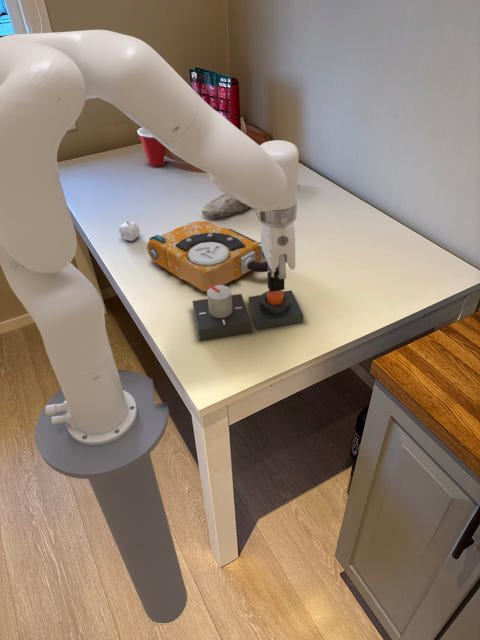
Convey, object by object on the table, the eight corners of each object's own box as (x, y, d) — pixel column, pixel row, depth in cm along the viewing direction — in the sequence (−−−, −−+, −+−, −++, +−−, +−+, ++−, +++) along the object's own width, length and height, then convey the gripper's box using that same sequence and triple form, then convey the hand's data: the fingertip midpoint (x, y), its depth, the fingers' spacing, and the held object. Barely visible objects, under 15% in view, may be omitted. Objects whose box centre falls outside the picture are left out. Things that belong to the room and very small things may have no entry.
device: (208, 203, 131) (292, 241, 114) (211, 230, 136) (291, 270, 119) (140, 234, 119) (222, 282, 102) (145, 262, 125) (224, 312, 108)
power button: (269, 306, 103) (269, 300, 102) (265, 296, 106) (265, 290, 105) (285, 304, 104) (285, 297, 102) (281, 294, 106) (281, 288, 105)
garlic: (122, 233, 137) (118, 216, 133) (141, 231, 137) (138, 215, 134) (120, 244, 132) (116, 227, 129) (140, 242, 132) (136, 225, 129)
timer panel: (199, 340, 101) (198, 329, 99) (193, 311, 109) (192, 300, 107) (251, 332, 102) (250, 321, 100) (241, 304, 110) (241, 292, 108)
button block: (257, 329, 103) (257, 315, 100) (248, 304, 110) (248, 290, 107) (302, 322, 104) (303, 308, 102) (291, 297, 111) (291, 283, 108)
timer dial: (237, 310, 103) (236, 290, 100) (219, 321, 101) (217, 301, 97) (221, 300, 106) (220, 280, 103) (204, 310, 104) (202, 290, 100)
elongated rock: (303, 193, 155) (282, 185, 161) (304, 177, 152) (282, 169, 158) (215, 224, 137) (195, 213, 144) (213, 206, 134) (193, 196, 141)
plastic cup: (174, 167, 171) (169, 133, 163) (143, 171, 170) (137, 136, 162) (171, 156, 179) (167, 123, 171) (142, 159, 178) (136, 126, 170)
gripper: (307, 226, 86) (303, 307, 98) (285, 190, 97) (283, 267, 109) (266, 232, 85) (267, 313, 97) (248, 195, 96) (251, 271, 108)
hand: (275, 288), depth 103 cm, fingers closed
